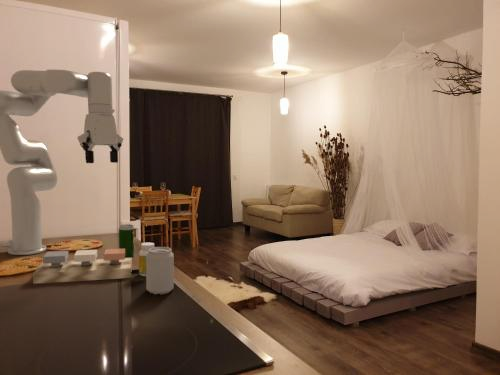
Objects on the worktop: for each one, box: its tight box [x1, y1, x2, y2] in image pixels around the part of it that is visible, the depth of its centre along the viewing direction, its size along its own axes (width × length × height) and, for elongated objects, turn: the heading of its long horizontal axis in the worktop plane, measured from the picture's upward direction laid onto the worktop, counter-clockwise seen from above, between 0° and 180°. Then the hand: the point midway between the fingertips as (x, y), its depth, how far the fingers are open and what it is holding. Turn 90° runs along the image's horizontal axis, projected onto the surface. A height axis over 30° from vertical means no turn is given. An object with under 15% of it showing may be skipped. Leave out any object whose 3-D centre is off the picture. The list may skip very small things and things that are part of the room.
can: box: [145, 246, 175, 295], centre depth 111 cm, size 8×8×12 cm
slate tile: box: [42, 250, 69, 267], centre depth 121 cm, size 6×6×4 cm
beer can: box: [117, 223, 135, 260], centre depth 141 cm, size 5×5×12 cm
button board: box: [32, 258, 133, 285], centre depth 123 cm, size 27×12×3 cm, turn 106°
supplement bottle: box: [138, 242, 155, 277], centre depth 125 cm, size 5×5×10 cm
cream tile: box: [73, 249, 98, 265], centre depth 123 cm, size 6×6×4 cm
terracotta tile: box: [103, 248, 125, 264], centre depth 125 cm, size 6×6×4 cm
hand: (102, 162), depth 132 cm, fingers open, 9 cm apart
